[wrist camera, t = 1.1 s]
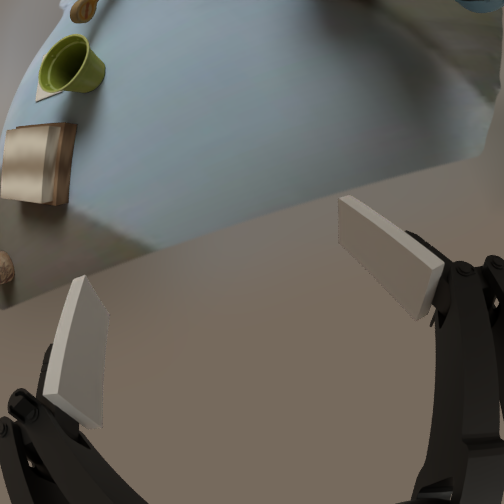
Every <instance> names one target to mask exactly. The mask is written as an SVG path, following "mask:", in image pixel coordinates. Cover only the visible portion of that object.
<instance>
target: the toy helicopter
mask: <svg viewBox="0 0 504 504" xmlns="http://www.w3.org/2000/svg"><path fill="white" fill-rule="evenodd" d="M98 1H99V0H78V1H77V2H75V4H74V5H73V6H72V8H71V11H70V18H71V20H72V22H74V23H86V22H88V21H90V20H91V19H92V17H93V16H94V14H95V11H96V6H97V2H98Z"/></svg>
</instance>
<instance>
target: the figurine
mask: <svg viewBox="0 0 504 504" xmlns="http://www.w3.org/2000/svg"><path fill="white" fill-rule="evenodd" d="M13 277H14V266H13V263H12V261H11V259H10V257H9V256H8V254H7V253H6V252H5V251H0V284H4V283H7V282H9V281H12V279H13Z"/></svg>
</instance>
